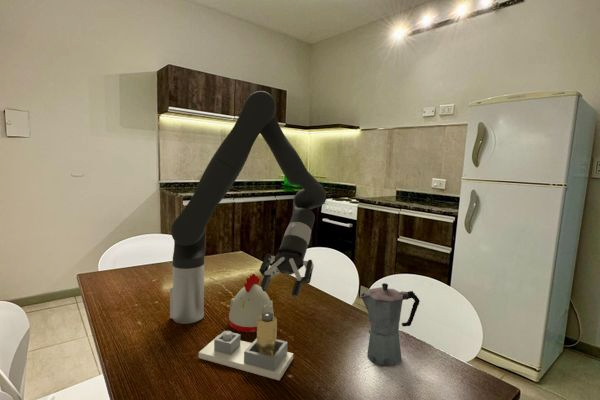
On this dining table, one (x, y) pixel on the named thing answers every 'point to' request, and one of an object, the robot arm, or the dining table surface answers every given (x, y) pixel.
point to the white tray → (247, 355)
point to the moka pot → (386, 323)
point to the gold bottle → (266, 334)
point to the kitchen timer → (249, 306)
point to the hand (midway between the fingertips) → (278, 293)
